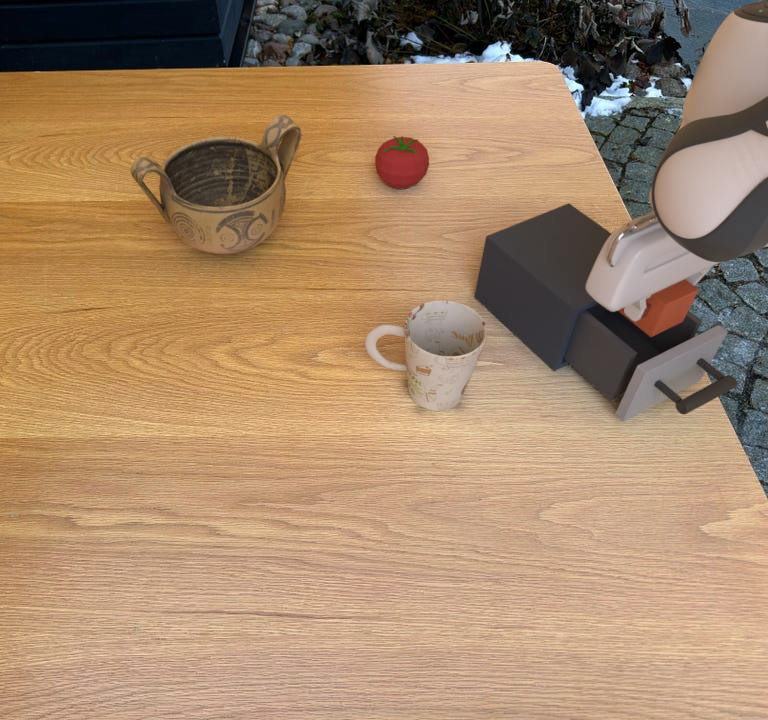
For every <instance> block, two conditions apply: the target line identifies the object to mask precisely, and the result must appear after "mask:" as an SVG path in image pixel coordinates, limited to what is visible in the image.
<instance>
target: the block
mask: <svg viewBox="0 0 768 720" xmlns="http://www.w3.org/2000/svg"><path fill="white" fill-rule="evenodd" d="M699 290H700V289H699V287H697V286H696V285H695V286H694V285H692V284H691V283H690V282H688V281H687V280H685V279H684V280H682V281H680V282H678V283H676V284H674V285H671V286H669V287H667V288H665V289H663V290H661V291H659V292H656V293H654V294H652V295H651V297H650V298H646V301H647V302H648V303H649V304H651V305H652V306H651V308H650V311H649V312H648V315H647V316H646V317H644V318H642V319H639V320H638V321H633V320H631V319H630V318H629V317H628V316H626V315H625V313H624V308H625V307H624V308H622V309H620V310H618V311H619V312H620V313H621V314H623V315H624V316H625V317H626V318H628V319H629V320H630V321H631V322H633V323H634V324H635V325H636V326H638V327H639V328H640V329H641V330H643V331H644V332H645V333H646V334H648V335H649V336H650V337H653V336H655V335H657V334H659V333H661V332H663V331H665V330H667V329H669V328H671V327H673V326H675V325H677V324H679V323H681V322H683V320H684V318H685V316H686V314H687V312H688V310H689V311H690V308H691V307H692V304H693V302H694V300H695V299H696V297H697V294H698V292H699Z"/></svg>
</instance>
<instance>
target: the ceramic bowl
mask: <svg viewBox="0 0 768 720" xmlns="http://www.w3.org/2000/svg"><path fill="white" fill-rule="evenodd" d="M301 141H302V129H301V127H300V126H299V125H298V124H297V123H296V121H294V120H293V119H291V117H290V116H288V115H287V114H283V113H282V114H278V115H276V116H275V117H274V118H272V119H271V121H270V122H269V123H268V125H267V126H266V128H265V130H264V133H263V135H262V139H261V142H257V141H254V140H251V139H247V138H242V137H237V136H228V135H227V136H225V135H224V136H222V135H221V136H210V137H205V138H200V139H197V140H193V141H191V142H189V143H186V144H184V145H182V146H179V147H178V148H177V149H175V150H174V151H172V152H171V153H170V154H169V155H168V156H167V157H166V158H165V160H163V163H162V164H161V165H160V164H159V162H157V161H156V160H154V159H152V158H151V157H147V156H141V157H138V158H137V159H135V160H134V161H133V162H132V165H131V167H130V176H131V177H132V178H133V179H134V181H135V182H136V184H137V185H138V186H139V187H140V189H141V190H142V191H143V192H144V194H145V195H146V197H147V198H148V199H149V200H150V201H151V203H152V205H154V207H155V208H156V210H157V211H158V213H159V214H160V216H161V217H162V218H163V219H164V220H165V222H166V223H167V224H168V225H169V226H170V227H171V229H172V230H173V232H174V233H175V234H176V236H177V237H178V238H179V239H180V240H181V241H182V242H184V243H185V244H186V245H187V246H189V247H191V248H192V249H196V250H198V251H200V252H204V253H207V254H214V255H233V254H238V253H241V252H244V251H247V250H251V249H252V248H255V247H256V246H257V245H259V244H261V243H262V242H264V241H265V240H266V239H267V238H268V237H269V236H270V235H271V234H272V233H273V232H274V231H275V230H276V228H278V227H277V226H278V225H279V223H280V221H281V218H282V215H283V213H284V210H285V204H286V200H287V199H286V197H287V191H286V182H285V181H286V178H287V175H288V173H289V170H290V168H291V165H292V163H293V160H294V158H295V155H296V153H297V150H298V148H299V146H300V143H301ZM149 173H155V174H156V175H158V176H159V184H158V185H159V187H158V188H159V199H160V201H159V200H158V199H157V197H156V196H155V194H154V193H153V192H152V191H151V190H150V188H149V187H148V186H147V185H146V183H145V181H144V178H145V177H146V175H148V174H149Z"/></svg>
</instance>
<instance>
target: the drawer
mask: <svg viewBox="0 0 768 720" xmlns="http://www.w3.org/2000/svg"><path fill="white" fill-rule="evenodd" d="M702 322H703V319H701V318H699V317H698V316H697V315H696V314H694V313H693V312H691V310H690V309H689V310H688V312H687V314H686V316H685V318H684V320H683V322H681V323H679V324H677V325H675V326H673V327H671V328H669V329H667V330H665V331H663V332H661V333H659V334H657V335H655V336H653V337H650V336H649V335H648V334H646V333H645V332H644V331H643V330H641V329H640V328H639V327H638V326H636V325H635V324H634V323H633V322H631V321H630V320H629V319H628V318H626V317H625V316H624V315H623V314H621V313H620V312H619V311H615V312H611V311H609V310H607V309H606V308H604V307H603V306H602V305H600V304H597V305H595V306H593V307H591V308H588V309H586V310H584V311H582V312H580V313H578V316H577V319H576V322H575V325H574V328H573V331H572V333H571V336H570V339H569V342H568V345H567V348H566V351H565V354H564V357H563V358H564V359H565V360H566V361H567V362H568V363H569V365H570V366H571V367H572V368H573V369H574V370H576V372H578V373H579V374H580V375H581V376H582V377H583V378H584V379H586V381H588V382H589V384H591V385H592V386H593V387H594V388H595V389H597V390H598V391H599V393H601V394H602V395H603V396H604V397H605V398H606V399H607V400H609V402H613V401H616V400H617V399H620V398H621V400H620V402H619V404H618V406H617V409H616V412H615V413H614V415H615V416H616V417H617V418H618V419H619V420H620V421H621V422H623V423H624V422H625V421H628V420H629V419H632V418H634V417H635V416H638V415H639V414H641V413H643V412H644V411H647V410H648V409H650V408H653V407H654V406H656V405H658V404H660V403H662V402H664V401H666V400H667V399H669V400H670V401H671V402H673V404H675V409H676V411H677V412H678V413H679V414H681V415H687V414H689V413H691V412H693V411H694V410H696V409H698V408H700V407H702V406H704V405H706V404H708V403H709V402H712V401H713V400H715V399H717V398H719V397H721V396H722V395H724V394H727V393H728V392H730V391H732V390H733V389H735V388H737V386H738V381H737V379H736V378H735V377H734V376H733V375H730V374H729V375H728V374H727V375H725V374H724V373H722V372H721V371H720V370H718V369H717V368H716V367H714V366H713V365H712V364H711V363H712V361H713V359H714V358H715V355H716V354H717V351H718V350H719V349H720V347H721V345H722V343H723V342H724V339H726V337H727V334H728V332H729V331H728V330H727V329H725V328H724V327H722V325H720V324H718V325H716V326H713V327H712V328H709V329H708V330H706V331H704V332H701V333H699V334H698V335H696V334H697V332H698V330H699V328H700V326H701V324H702ZM705 373H707V374H709V376H711V377H712V378H714V379H715V380H716V381H714V382H712V383H711V384H708V385H707V386H704V387H702V388H701V389H699V390H697V391H695V392H693V393H691V394H690V395H687V396H686V397H684V398H682V397H681V396H680V395H679V393H681V392H683V391H684V390H687V389H689V388H690V387H693V386H694V385H696V384H698V383H700V382H701V381H702V379H703V377H704V375H705Z"/></svg>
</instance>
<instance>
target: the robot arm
mask: <svg viewBox="0 0 768 720" xmlns="http://www.w3.org/2000/svg"><path fill="white" fill-rule="evenodd" d="M683 101H684V102H683V105H682V118H681V122H680V126H679V128H678V130H677V131H676V133H675V134H674V135H673V136H672V138H671V139H670V141H669V142H668V144H667V146H666V147H665V149H664V151H663V153H662V154H661V157H660V159H659V161H658V164H657V166H656V169H655V172H654V175H653V179H652V183H651V187H650V190H649V194H648V200H649V205H650V207H651V208H652V211H650V212H647V213H646V214H645V215H642V216H638V217H635V218H633V219H631V220H630V221H628V222H627V223H625V224H623V225H621V226H619V227H618V228H617V229H615V230H614V231H613V232H611V235H610V236H609V238H608V239H607V240H606V242H605V244H604V245H603V247H602V249H601V251H600V253H599V255H598V257H597V259H596V261H595V263H594V265H593V268H592V270H591V272H590V274H589V277H588V279H587V282H586V286H585V288H586V291H587V292H588V294H589V295H590V296H591V297H592V298H593V299H594V300H595V301H596V302H598V303H599V304H600V305H602V306H603V307H604V308H606V309H607V310H609V311H611V312H615V311H618V310H620V309H622V308H624V307H625V308H624V313H625V315H626V316H628V317H629V318H630V319H631V320H633V321H638V320H639V319H642V318H644V317H646V316H647V315H648V312H649V311H650V308H651V306H652V305H651V304H649V303H648V302H647V301H646V298H650V297H651V295H652V294H654V293H656V292H659V291H661V290H663V289H665V288H667V287H669V286H671V285H674V284H676V283H678V282H680V281H682V280H684V279H685V280H687V281H688V282H690V283H691V284H692V285H694V286H695V287H696V285H697V284H698V283H699V282H700V281H701V280H702V279H703V278H704V277H705V276H706V274H708V273H709V271H710V270H711V269H712V267H714V266H716V265H719V264H721V263H724V262H728V261H732V260H734V259H738V258H740V257H744V256H747V255H750V254H752V253H756V252H758V251H760V250H762V249H763V248H767V247H768V0H760V1H755V2H751V3H748V4H744V5H741V6H740V7H739V8H736V9H734V10H732V11H731V12H730V13H729V15H727V17H725V19H724V20H723V21H722V23H721V24H720V25H719V26H718V28H717V30H716V31H715V32H714V34H713V36H712V38H711V40H710V41H709V43H708V46H707V47H706V49H705V51H704V53H703V56H702V57H701V60H700V62H699V64H698V66H697V69H696V71H695V73H694V75H693V78H692V80H691V82H690V86H689V88H688V90H687V93H686V96H685V99H684V100H683Z"/></svg>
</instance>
